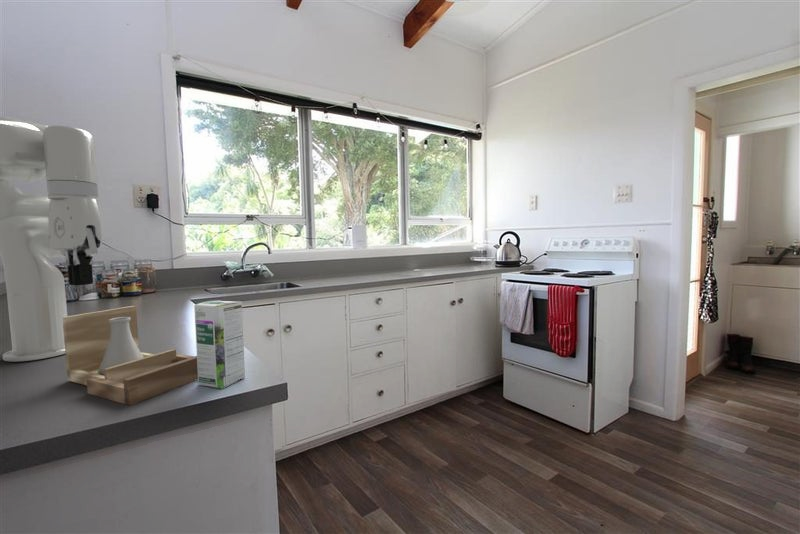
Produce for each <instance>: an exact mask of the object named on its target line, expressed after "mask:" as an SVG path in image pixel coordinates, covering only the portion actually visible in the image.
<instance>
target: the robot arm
mask: <svg viewBox="0 0 800 534" xmlns="http://www.w3.org/2000/svg"><path fill="white" fill-rule="evenodd" d="M45 178H46V187H47V196H45V195H32V194H31V195H30V194H24V193H23V192H22V191H21V190H20V189H19V187H17V186H16V185H14V184H12V182H20V183H39V182H40V181H42V180H44V179H45ZM9 181H10V182H9ZM98 202H99V187H98V177H97V163H96V151H95V141H94V137H93V135H92V134H91V133H90V132H88V131H87V130H83V128H82V129H81V128H78V127H73V126H68V125H47V124H44V123H43V124H42V123H39V122H34V121H29V120H23V119H19V118H15V117H9V116H5V115H0V260H1V262H2V266H3V267H2V268H3V272H4V273H3V274H4V280H5V282H4V283H5V289H6V297H7V299H6V300H7V308H8V317H9V327H10V338H11V348H12V349H11V350H8V351H6V352H4V353H3V354H2V360H3V361H4V362H9V363H10V362H14V363H15V362H16V363H17V362H28V361H29V362H30V361H38V360H43V359H48V358H49V359H50V358H54V357H58V356H61V355H66V354H65V343H64V332H63V320H62V317H67V316H68V309H67V298H66V297H67V296H66V295H67V294H66V285H65V279H64V278H65V277H64V274H63V272H62V271H61V270H60V269H59V268H58V267H57V266H55V265H54V263H52V262H51V261H49V259H55V258H65V264H66V266H67V267H66V268H67V276H68V277H67V278H68V285H69V286H75V287H76V286H84V285H85V286H86V285H93V283H94V275H93V262H94V256H96V255H98V254H99V253H98V252H99V251H98V249H99V248H101V247H102V245H103V232H102V221H101V216H100V215H101V214H100V209H99V207H98Z"/></svg>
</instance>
